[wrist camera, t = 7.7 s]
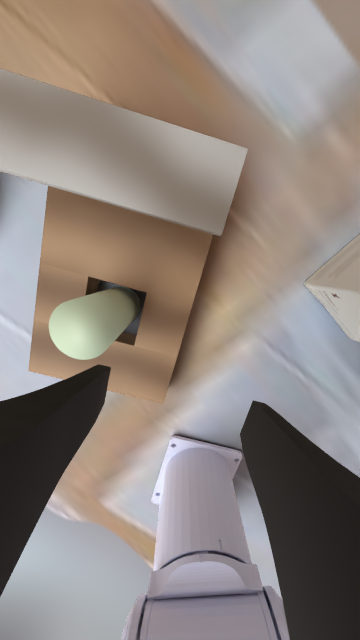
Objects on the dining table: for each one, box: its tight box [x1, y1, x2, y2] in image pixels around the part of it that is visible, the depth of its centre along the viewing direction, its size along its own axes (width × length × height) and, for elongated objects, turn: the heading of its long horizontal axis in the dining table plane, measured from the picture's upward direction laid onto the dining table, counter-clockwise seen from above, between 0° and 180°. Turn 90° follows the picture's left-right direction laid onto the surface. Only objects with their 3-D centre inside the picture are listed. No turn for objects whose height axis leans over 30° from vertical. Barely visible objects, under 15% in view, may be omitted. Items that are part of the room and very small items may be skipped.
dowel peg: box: [49, 286, 140, 360], centre depth 15 cm, size 3×3×8 cm
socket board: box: [0, 68, 248, 404], centre depth 15 cm, size 18×12×7 cm, turn 165°
